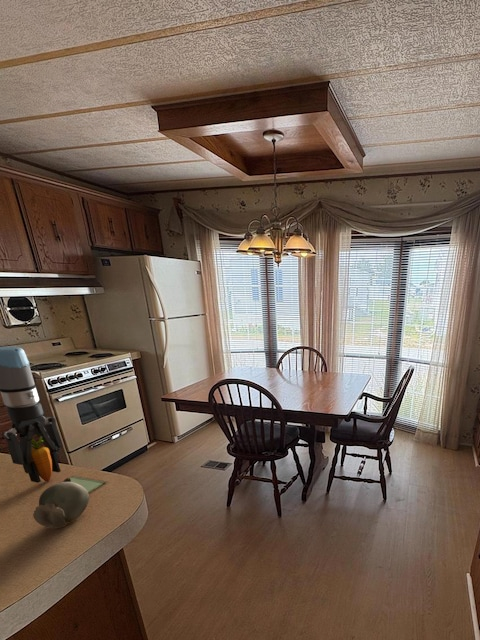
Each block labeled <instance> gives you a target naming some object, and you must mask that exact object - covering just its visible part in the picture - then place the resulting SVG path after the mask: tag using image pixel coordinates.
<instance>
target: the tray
mask: <svg viewBox="0 0 480 640" xmlns="http://www.w3.org/2000/svg"><path fill="white" fill-rule="evenodd" d="M69 478H70V479H71V482H74V483H77V484H79V485H81V486H82V487H84V488H85V489H86V490H87V492H88V494H90V493H92V492H93V491H95V490H96V489H98V488H100V487H102V486H103V485H105V484H106V481H102V480H97V479H92V478H86V477H79V476H73V475H72V476H70V477H69Z"/></svg>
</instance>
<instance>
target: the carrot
mask: <svg viewBox="0 0 480 640" xmlns="http://www.w3.org/2000/svg"><path fill="white" fill-rule="evenodd" d="M42 439H43V437H42V436H40V438H39V437H38V441H36V440H35V439H34V438H33V439H32V440H31V462H35V465H36V468H37V471H38V474H39V477H40V479H42V480H43V481H45V482H50V480H51V478H52V475H53V471H52V459H51V455H50V451H49V449H48V448H47V447H45V446H44V445H42V444H43V443H42V442H43V440H42Z"/></svg>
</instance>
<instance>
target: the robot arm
mask: <svg viewBox="0 0 480 640" xmlns="http://www.w3.org/2000/svg"><path fill="white" fill-rule="evenodd" d="M31 369H32V368H31V366H30V361H29V359H28V356H27V354H26V351H25V350H24V349H23V347H20V346H0V395H1V398H2V402H3V404H4V406H6V407H5V409H6V413H7V416H8V418H9V420H10V421H11V423H12V424H11V428H10V429H9V430H6V431H5V430H4V431H2V432H1V435H2V437H3V438H4V439H5V441H6V444H7V447H8V451H9V454H10V457H11V462H12V464H14V465H21V466H22V468H23V470H24V473H25V474H27V475H28V477H29V479H30V482H32V483H37V484H38V483H39V484H40V483H41V482H42V481H41V477H40V476H39V474H38V471H37V468H36V465H35V462H31V448H32V447H31V440H32V439H34V438H33V437H34V436H37V437H38V439H39V438H40V436H42V437H43V439H42V440H43V442H42V443H41V444H42V445H43V446H44V447H47V448H48V449H49V451H50V455H51V459H52V473H61V467H60V463H59V461H60V457H59V452H60V451H61V448H62V447H63V443H62V440H61V437H60V434H59V431H58V428H57V424H56V423H57V420H56V419H57V418H56V417H51V416H44V409H43V407H42V403H41V402H40V396H39V393H38V390H37V387H36V384H35V380H34V376H33V373H32V370H31Z"/></svg>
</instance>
